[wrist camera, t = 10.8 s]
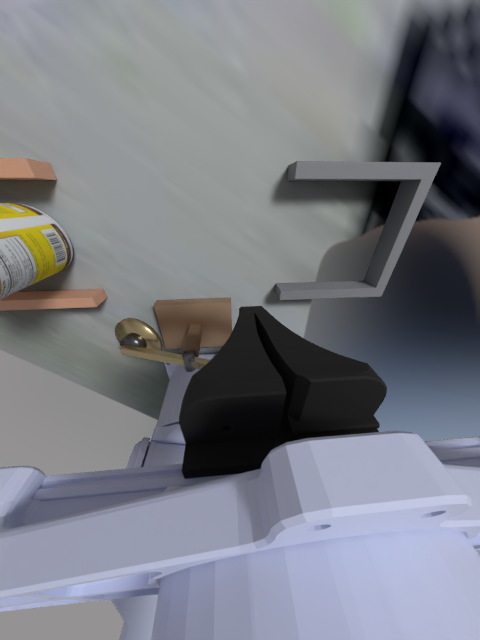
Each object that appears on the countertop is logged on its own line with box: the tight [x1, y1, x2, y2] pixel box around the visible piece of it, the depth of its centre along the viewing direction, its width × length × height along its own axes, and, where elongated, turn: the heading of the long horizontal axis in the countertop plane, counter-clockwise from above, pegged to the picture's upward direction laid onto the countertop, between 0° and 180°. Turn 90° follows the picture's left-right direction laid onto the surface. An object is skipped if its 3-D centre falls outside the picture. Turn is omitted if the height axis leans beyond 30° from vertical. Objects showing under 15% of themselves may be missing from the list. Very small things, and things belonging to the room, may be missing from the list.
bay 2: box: [275, 161, 441, 300], centre depth 18 cm, size 11×11×2 cm
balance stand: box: [154, 298, 232, 357], centre depth 20 cm, size 6×8×6 cm
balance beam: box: [115, 318, 210, 372], centre depth 17 cm, size 5×18×2 cm, turn 90°
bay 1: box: [0, 158, 107, 311], centre depth 16 cm, size 11×11×2 cm
